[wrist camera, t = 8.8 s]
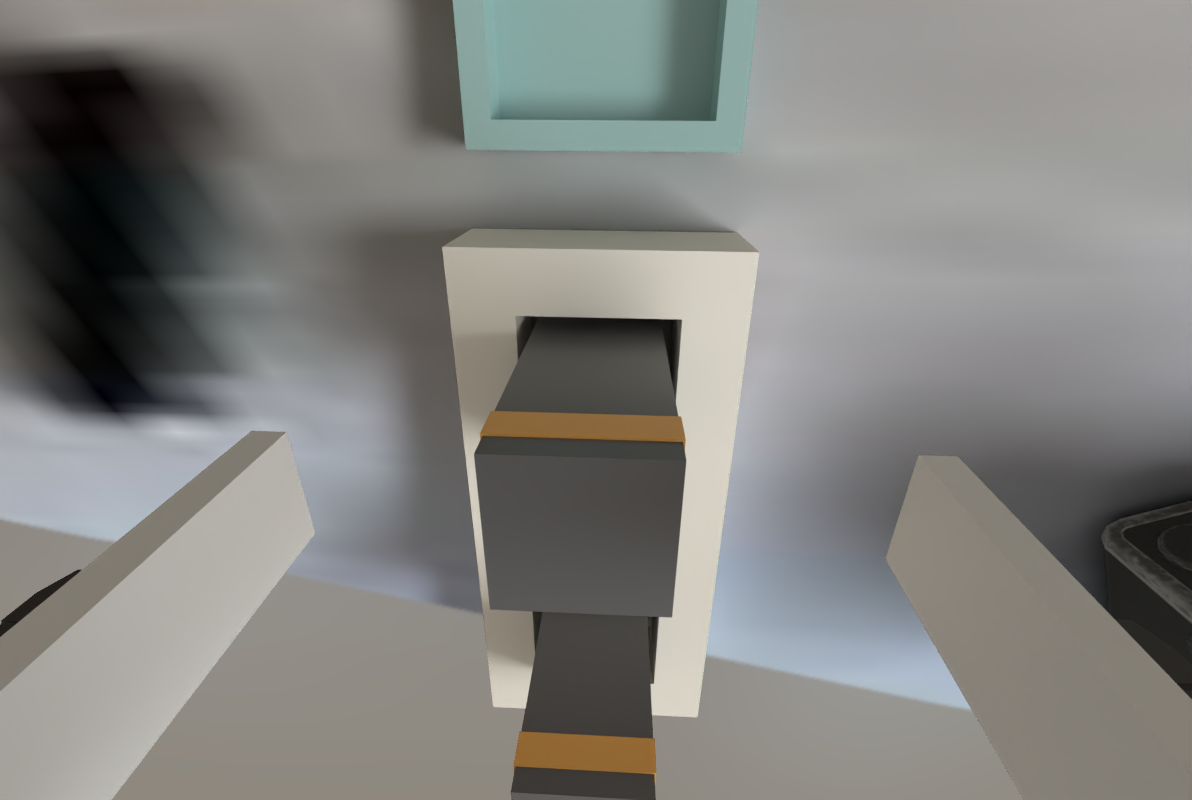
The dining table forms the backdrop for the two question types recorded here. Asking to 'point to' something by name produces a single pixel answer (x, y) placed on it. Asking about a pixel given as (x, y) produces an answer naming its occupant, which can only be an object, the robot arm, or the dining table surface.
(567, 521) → the plug
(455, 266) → the battery charger
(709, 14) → the tray
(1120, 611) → the camera
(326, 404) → the dining table surface
